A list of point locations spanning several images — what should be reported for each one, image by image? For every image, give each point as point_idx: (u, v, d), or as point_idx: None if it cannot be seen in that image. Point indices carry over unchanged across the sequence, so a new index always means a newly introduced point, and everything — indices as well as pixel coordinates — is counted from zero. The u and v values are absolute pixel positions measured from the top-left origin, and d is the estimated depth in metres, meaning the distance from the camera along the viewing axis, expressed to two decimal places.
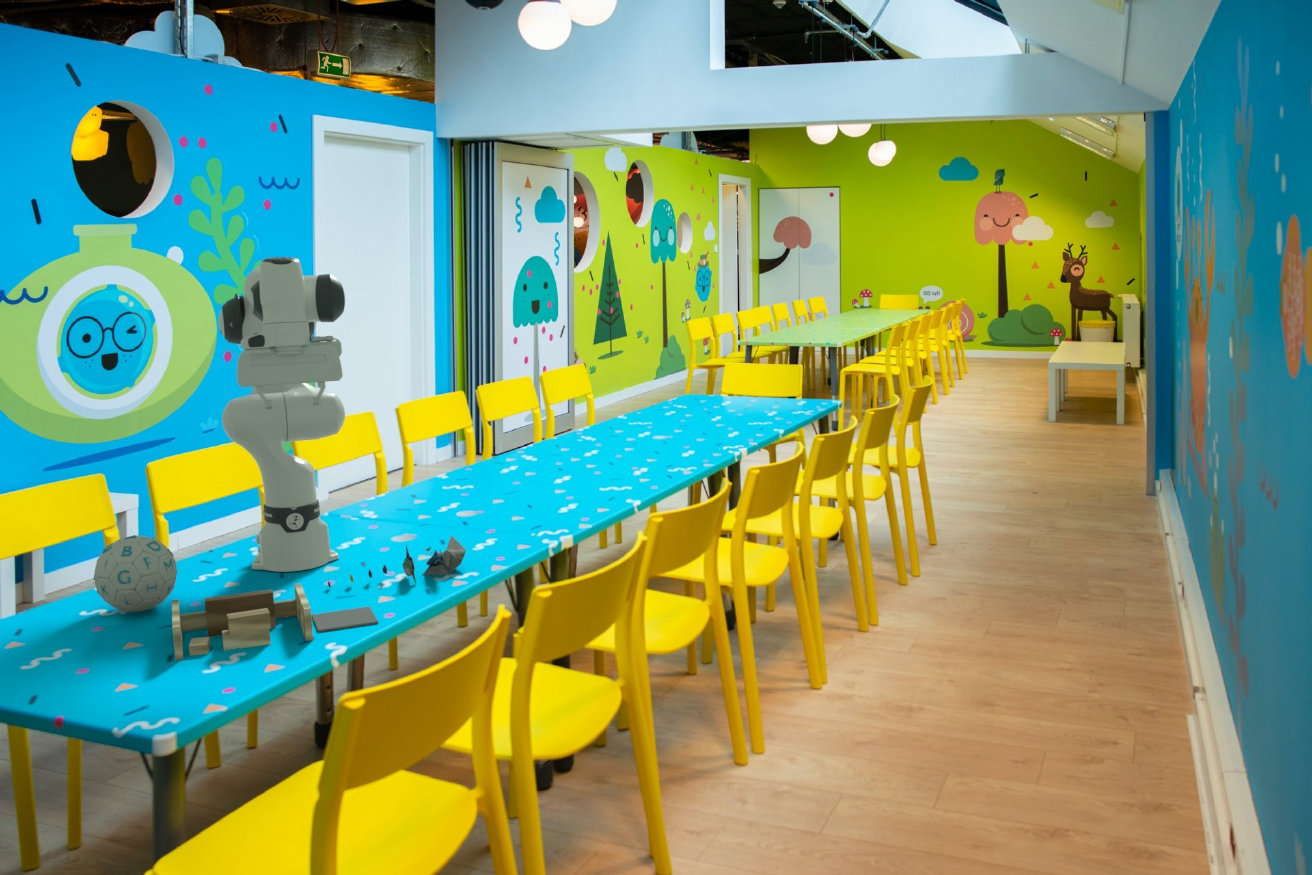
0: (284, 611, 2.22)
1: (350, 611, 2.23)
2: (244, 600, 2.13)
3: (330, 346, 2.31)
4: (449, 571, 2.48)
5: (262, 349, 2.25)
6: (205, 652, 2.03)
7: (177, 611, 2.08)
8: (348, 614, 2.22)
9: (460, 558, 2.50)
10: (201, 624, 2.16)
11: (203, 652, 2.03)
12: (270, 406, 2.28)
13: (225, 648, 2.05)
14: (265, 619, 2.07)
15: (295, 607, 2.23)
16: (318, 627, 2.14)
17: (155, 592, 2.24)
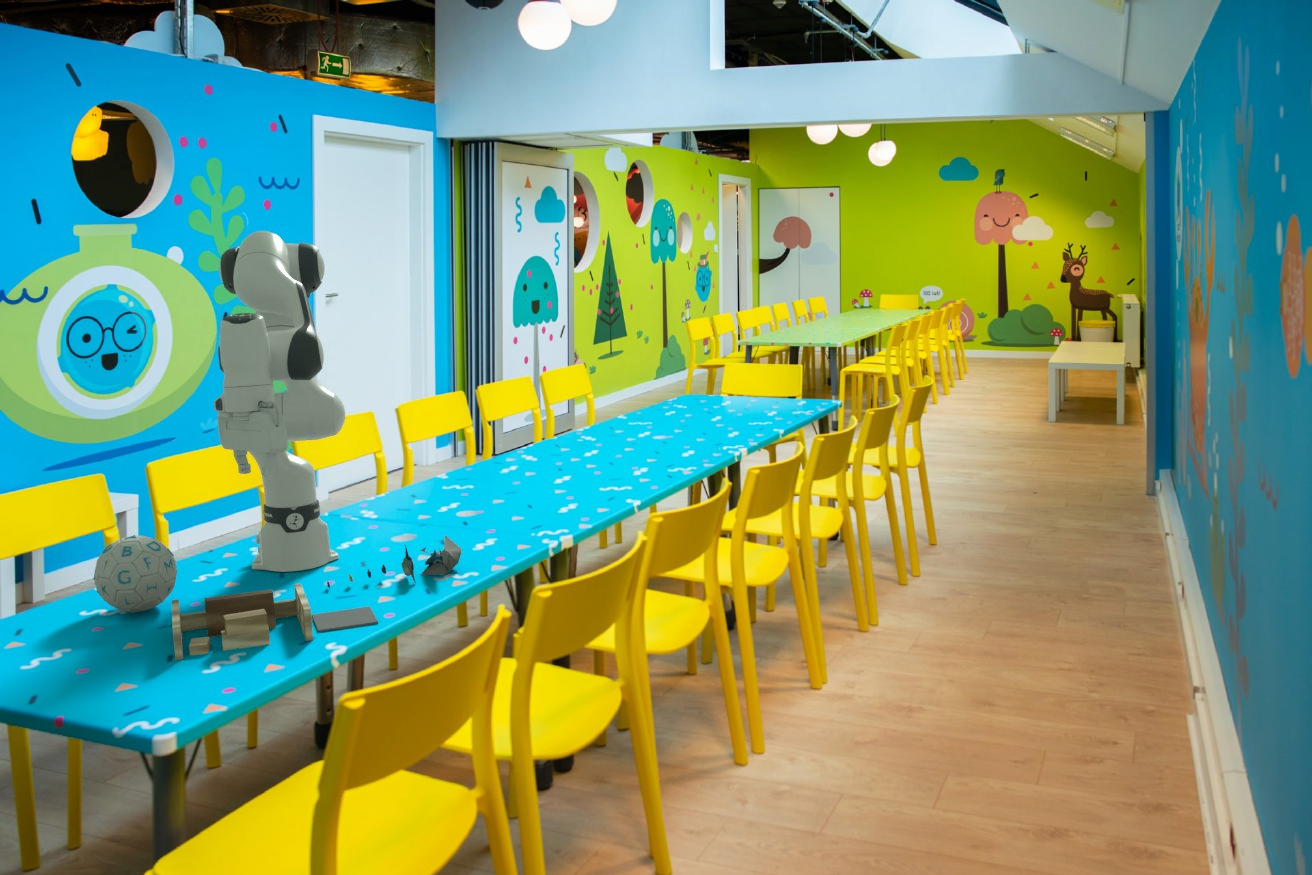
0: (284, 611, 2.22)
1: (350, 611, 2.23)
2: (244, 600, 2.13)
3: (263, 414, 2.06)
4: (447, 571, 2.49)
5: (224, 413, 2.14)
6: (205, 652, 2.03)
7: (177, 611, 2.08)
8: (348, 614, 2.22)
9: (457, 558, 2.51)
10: (201, 624, 2.16)
11: (203, 652, 2.03)
12: (241, 471, 2.17)
13: (224, 648, 2.05)
14: (262, 620, 2.07)
15: (295, 607, 2.23)
16: (318, 627, 2.14)
17: (155, 592, 2.24)
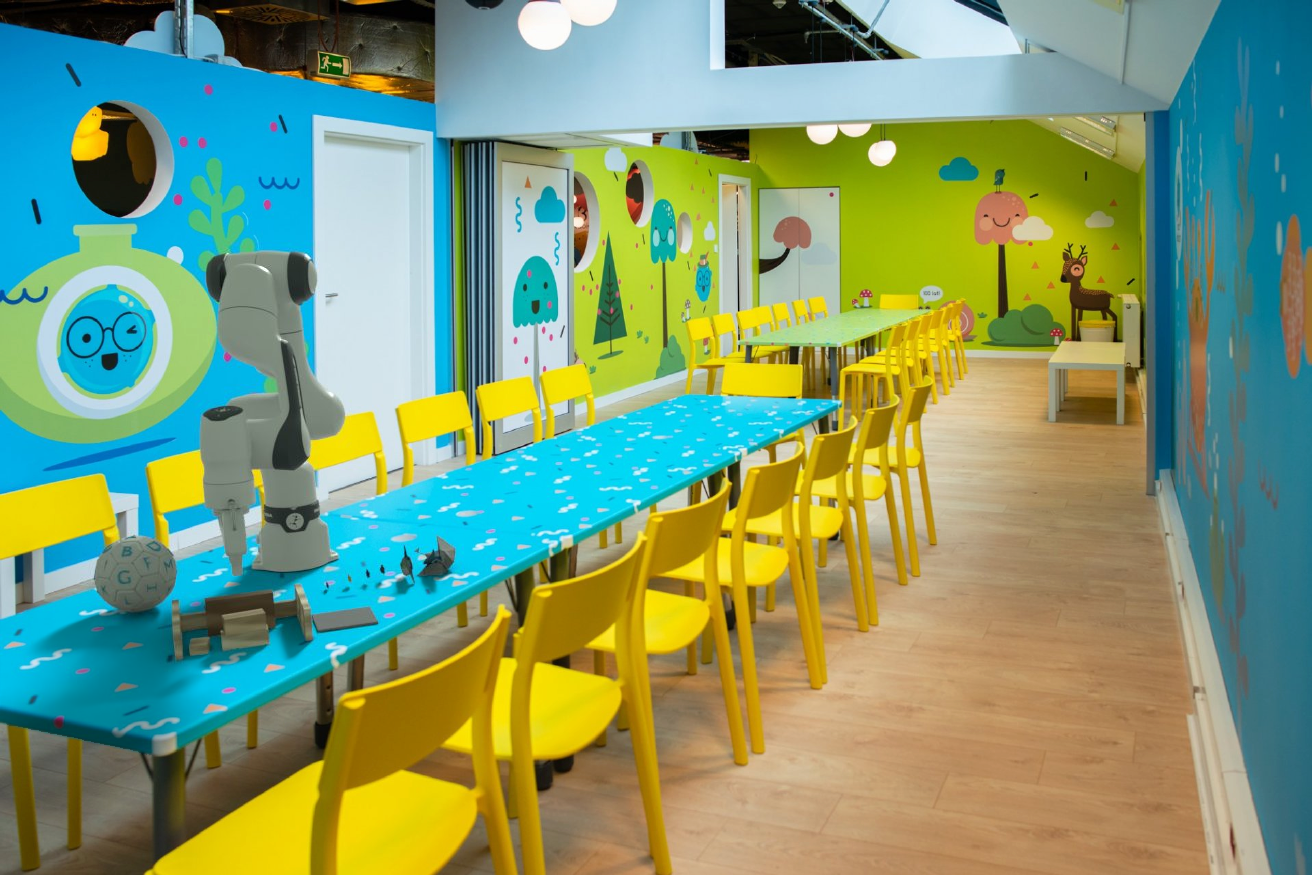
0: (284, 611, 2.22)
1: (350, 611, 2.23)
2: (244, 600, 2.13)
3: (223, 516, 2.03)
4: (444, 570, 2.49)
5: None
6: (205, 652, 2.03)
7: (177, 611, 2.08)
8: (348, 614, 2.22)
9: (452, 557, 2.52)
10: (201, 624, 2.16)
11: (203, 652, 2.03)
12: None
13: (224, 648, 2.05)
14: (261, 620, 2.07)
15: (295, 607, 2.23)
16: (318, 627, 2.14)
17: (155, 592, 2.24)
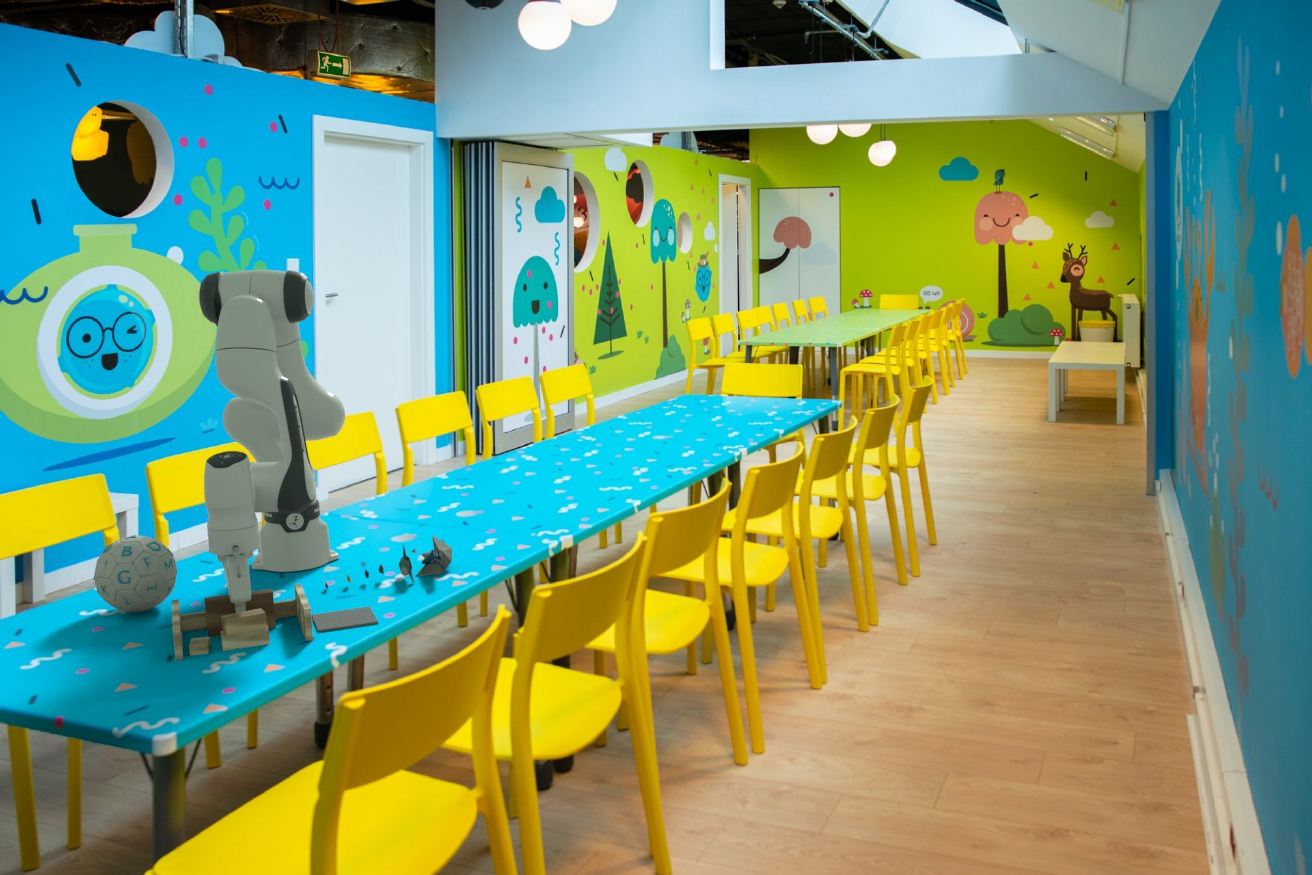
0: (284, 611, 2.22)
1: (350, 611, 2.23)
2: None
3: (227, 563, 2.04)
4: (443, 570, 2.49)
5: None
6: (205, 652, 2.03)
7: (177, 611, 2.08)
8: (348, 614, 2.22)
9: (450, 556, 2.52)
10: (201, 624, 2.16)
11: (203, 652, 2.03)
12: None
13: (224, 649, 2.05)
14: (261, 619, 2.07)
15: (295, 607, 2.23)
16: (318, 627, 2.14)
17: (155, 592, 2.24)
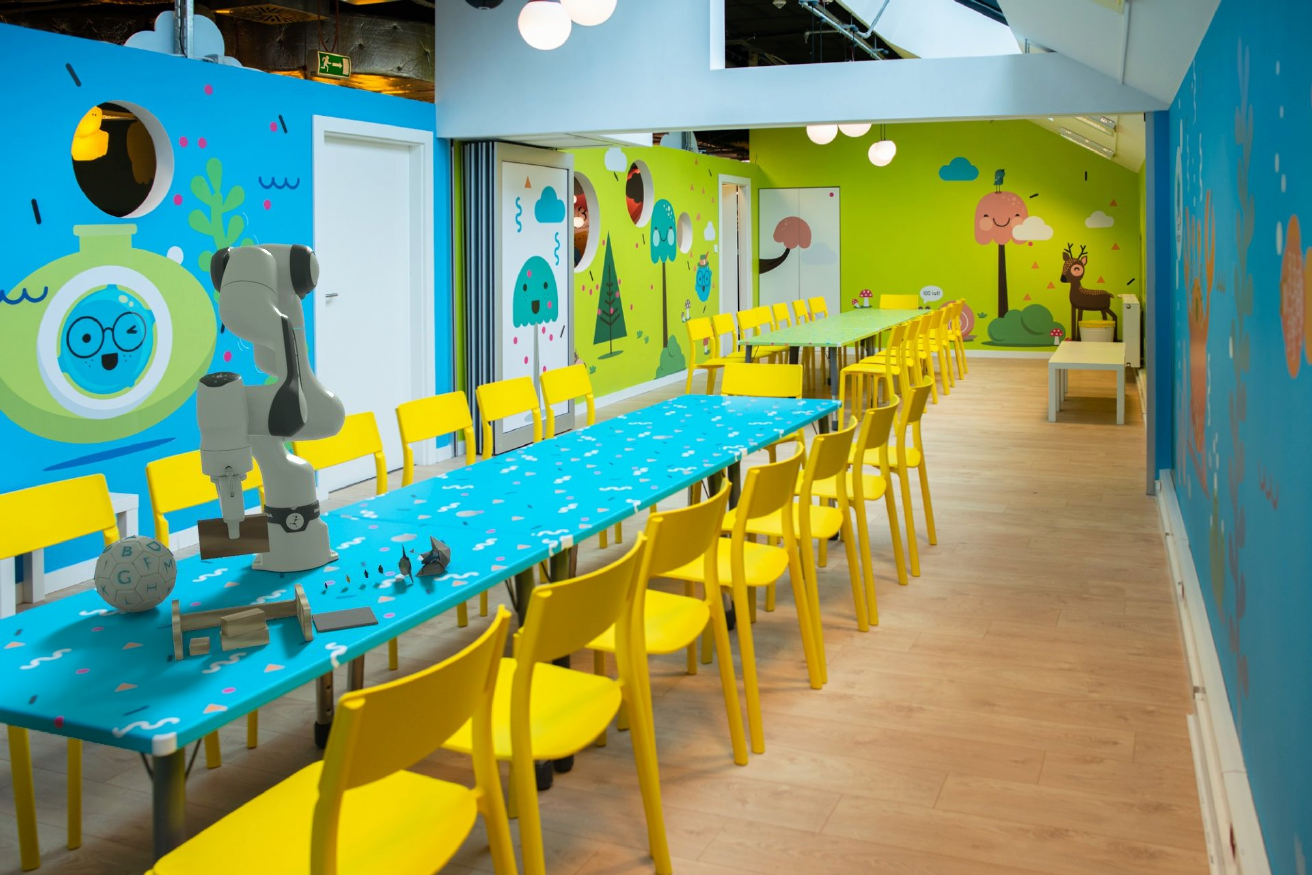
0: (284, 611, 2.22)
1: (350, 611, 2.23)
2: None
3: (220, 483, 2.02)
4: (442, 569, 2.50)
5: None
6: (205, 652, 2.03)
7: (177, 611, 2.08)
8: (348, 614, 2.22)
9: (448, 556, 2.52)
10: (201, 624, 2.16)
11: (203, 652, 2.03)
12: None
13: (224, 649, 2.05)
14: (261, 619, 2.07)
15: (295, 607, 2.23)
16: (318, 627, 2.14)
17: (155, 592, 2.24)
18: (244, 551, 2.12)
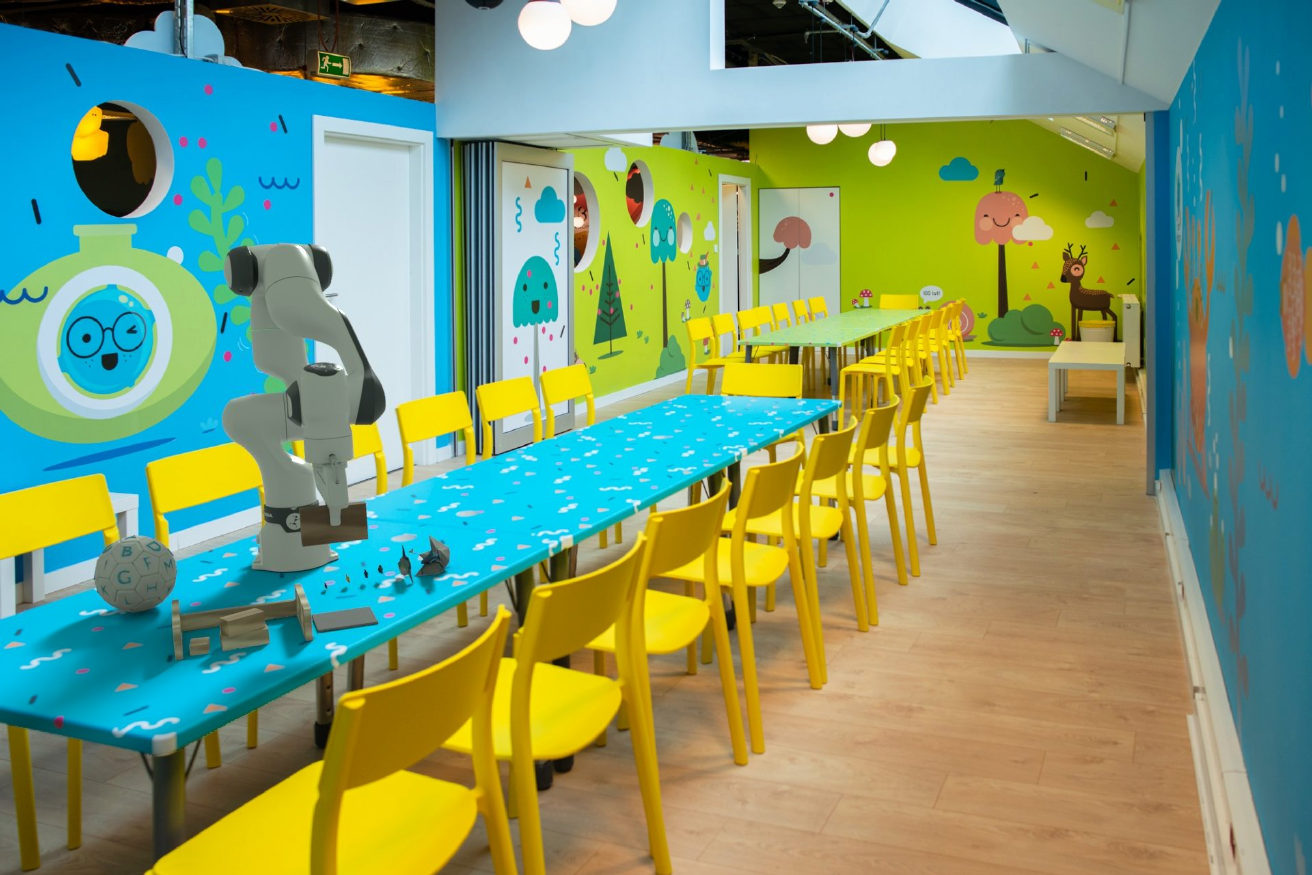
0: (284, 611, 2.22)
1: (350, 611, 2.23)
2: None
3: (325, 470, 2.06)
4: (441, 569, 2.50)
5: None
6: (206, 652, 2.03)
7: (177, 611, 2.08)
8: (348, 614, 2.22)
9: (448, 556, 2.52)
10: (201, 624, 2.16)
11: (204, 652, 2.03)
12: None
13: (224, 649, 2.04)
14: (260, 618, 2.08)
15: (295, 607, 2.23)
16: (318, 627, 2.14)
17: (155, 592, 2.24)
18: (344, 538, 2.16)
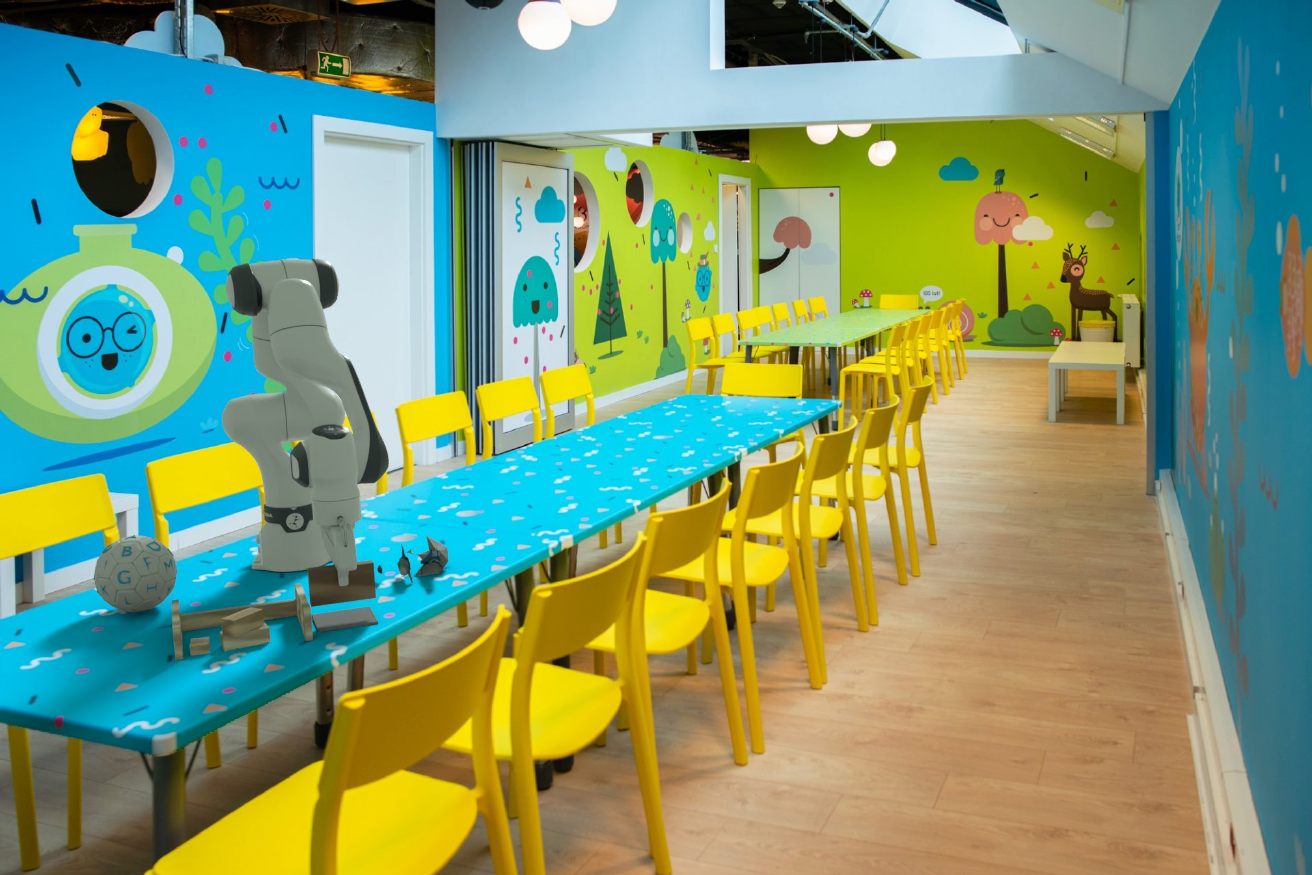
0: (284, 611, 2.22)
1: (350, 611, 2.23)
2: None
3: (334, 533, 2.08)
4: (441, 569, 2.50)
5: None
6: (206, 652, 2.03)
7: (177, 611, 2.08)
8: (348, 614, 2.22)
9: (446, 556, 2.52)
10: (201, 624, 2.16)
11: (204, 652, 2.03)
12: None
13: (226, 649, 2.05)
14: (260, 616, 2.09)
15: (295, 607, 2.23)
16: (318, 627, 2.14)
17: (155, 592, 2.24)
18: (352, 597, 2.18)
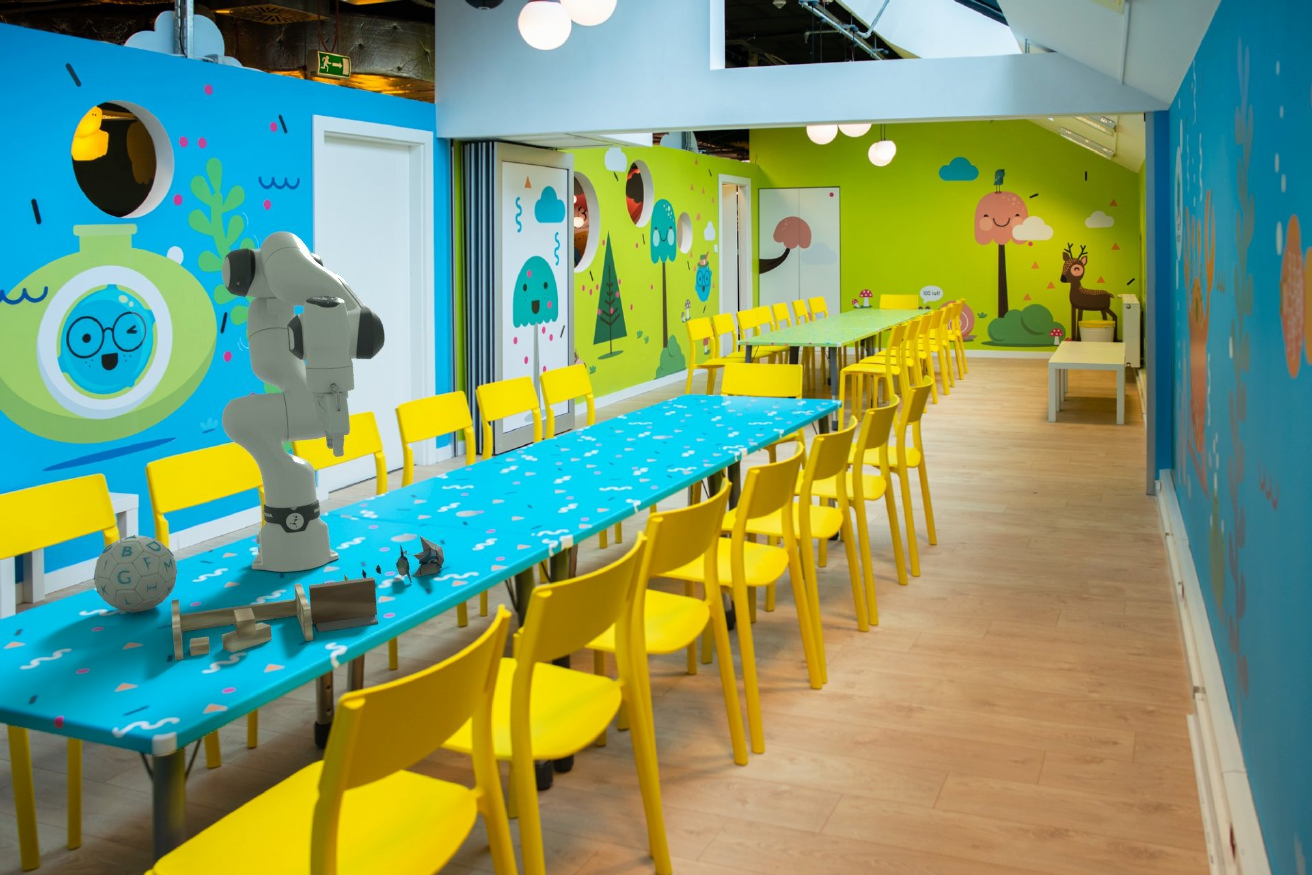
0: (284, 611, 2.22)
1: None
2: (347, 587, 2.18)
3: (327, 398, 2.13)
4: (438, 569, 2.50)
5: None
6: (206, 652, 2.03)
7: (177, 611, 2.08)
8: None
9: (442, 555, 2.53)
10: (201, 624, 2.16)
11: (204, 652, 2.03)
12: (327, 446, 2.27)
13: (234, 650, 2.04)
14: None
15: (295, 607, 2.23)
16: (318, 627, 2.14)
17: (155, 592, 2.24)
18: (353, 614, 2.19)
